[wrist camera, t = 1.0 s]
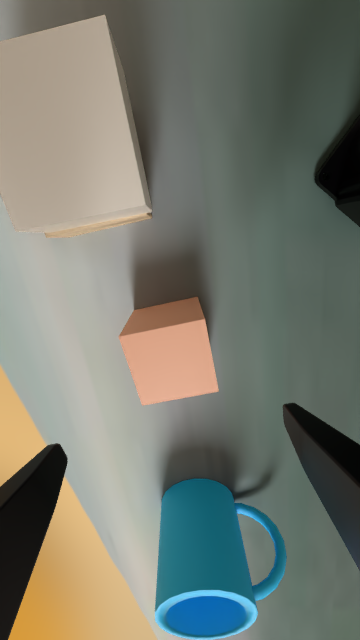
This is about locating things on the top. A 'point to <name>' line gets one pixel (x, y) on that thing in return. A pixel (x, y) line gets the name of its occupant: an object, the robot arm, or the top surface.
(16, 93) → the slab upper
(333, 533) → the top surface
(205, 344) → the coral cube
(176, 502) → the mug
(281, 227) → the top surface
